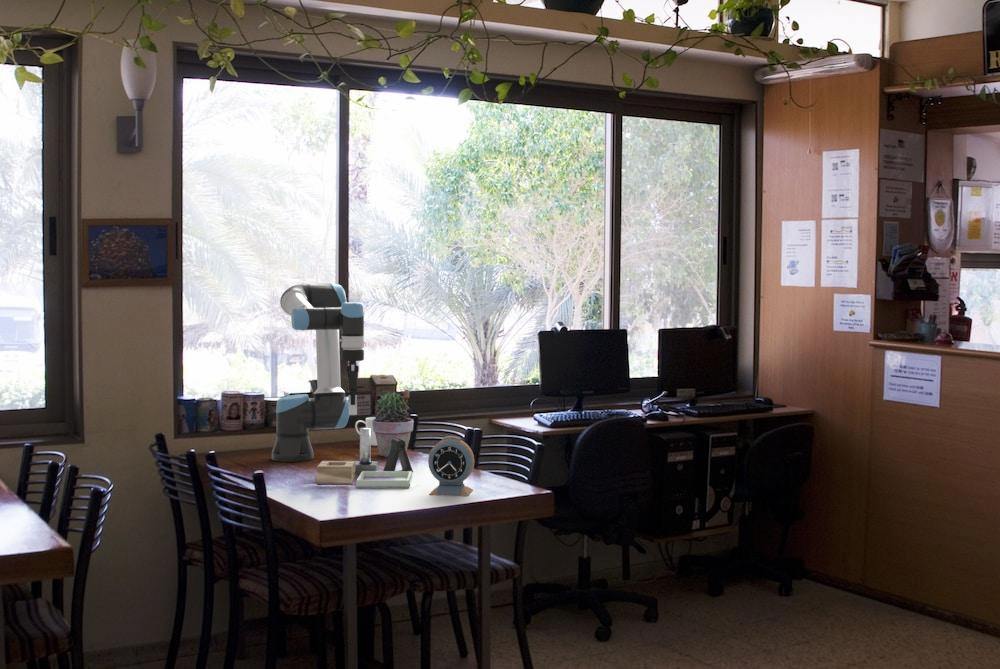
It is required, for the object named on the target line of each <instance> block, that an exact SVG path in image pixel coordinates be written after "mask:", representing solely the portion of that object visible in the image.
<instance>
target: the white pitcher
mask: <svg viewBox="0 0 1000 669" xmlns="http://www.w3.org/2000/svg"><path fill="white" fill-rule="evenodd" d="M373 419H376V418H375V417H371V416H368V417H365V420H362V419H361V420H360V419H359V420H357V421H356V422H355V425H354V427H355V430H356V433H357V434H358V436H360V430H359V429H358V424H359V423H363V424H365V428H371V446H373V447H374V446H375V447H378V444H377V440H376V436H375V432H374V431H373V424H372V420H373Z"/></svg>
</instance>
